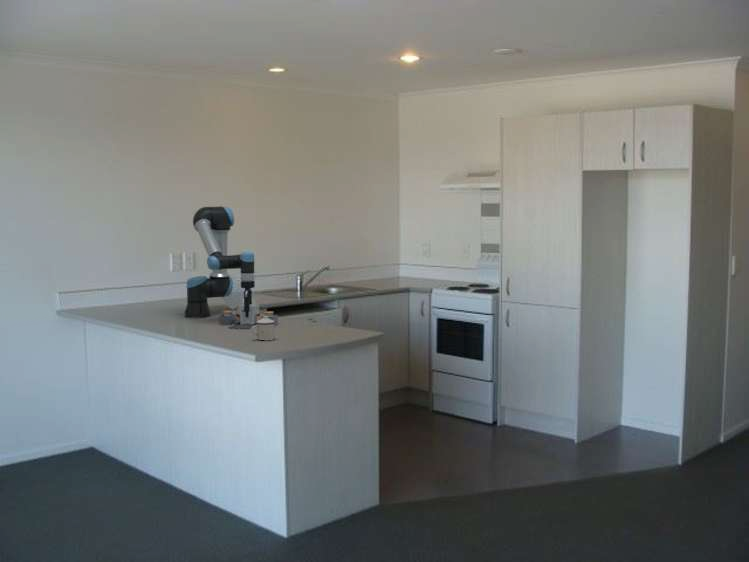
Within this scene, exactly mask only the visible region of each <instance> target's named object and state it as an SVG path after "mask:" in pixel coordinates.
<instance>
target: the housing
mask: <svg viewBox="0 0 749 562" xmlns="http://www.w3.org/2000/svg"><path fill="white" fill-rule="evenodd" d="M264 316H266V314H264V315H262V316H260V320H261V319H262V318H264ZM278 317H279V315H278V314H273V317H268V318H269V319H271V320H274V321H275V323H274V325H275V326H276V324H277V325H278V324H279V321H278V320H279V319H278ZM218 324H223V325H222V326H233V325H232V324H234V325H241V324H240V320H238V321H237V317H236V313H234V314H233V313H231V316H224V313H222V314H220V315H218ZM253 325H255V326H257V322H256V323H254V324H253Z"/></svg>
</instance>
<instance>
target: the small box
mask: <svg viewBox="0 0 749 562" xmlns="http://www.w3.org/2000/svg"><path fill="white" fill-rule="evenodd" d="M243 310H244V304H242V305H240V317H239V321H240V324H239V325H254V323H256V322H257V321H258V320H257V317H256V304H250V307H249V310H250V323H245V312H243Z"/></svg>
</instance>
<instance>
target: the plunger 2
mask: <svg viewBox="0 0 749 562" xmlns="http://www.w3.org/2000/svg"><path fill="white" fill-rule="evenodd" d="M264 315H266V316H267V317H273V315H275V314H274V311H271V310H270V311H264Z"/></svg>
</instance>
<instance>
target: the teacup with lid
mask: <svg viewBox="0 0 749 562" xmlns="http://www.w3.org/2000/svg"><path fill="white" fill-rule="evenodd" d="M263 316H264V315H263ZM256 321H257V326H253V327H252V328H251V329H250V331H251V332H250V333H251V335H253V336H255V337H256V340H257V339H259V340H270V339H274V338H275V337H276V335H275V332H276V331H275V330H276V329H275V326H276V325H274V323H275V321H274V320H271V319H269V318H268V317H267V316H264V318H262V319H261V318H260V319H259V320H256ZM255 328H256V333H254V331H253V330H254V329H255ZM275 339H276V338H275ZM275 339H274V340H275ZM259 340H258V341H259Z"/></svg>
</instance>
